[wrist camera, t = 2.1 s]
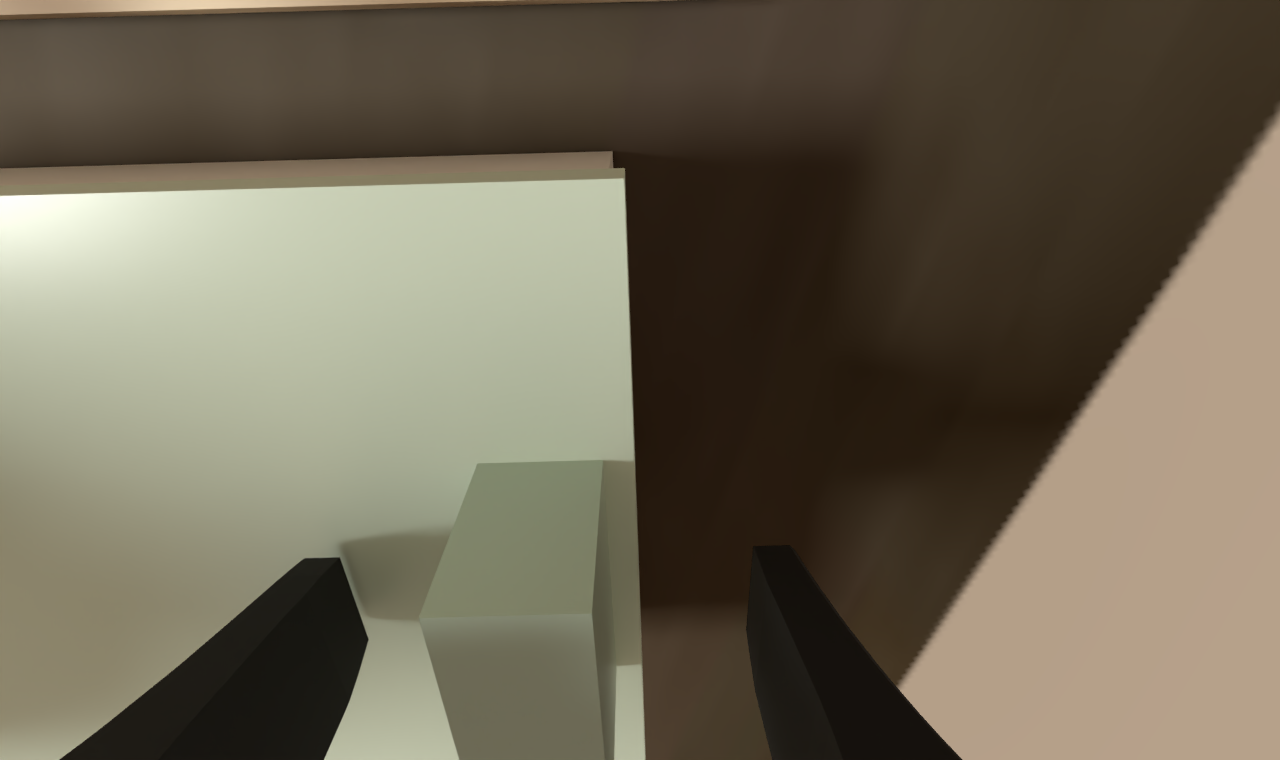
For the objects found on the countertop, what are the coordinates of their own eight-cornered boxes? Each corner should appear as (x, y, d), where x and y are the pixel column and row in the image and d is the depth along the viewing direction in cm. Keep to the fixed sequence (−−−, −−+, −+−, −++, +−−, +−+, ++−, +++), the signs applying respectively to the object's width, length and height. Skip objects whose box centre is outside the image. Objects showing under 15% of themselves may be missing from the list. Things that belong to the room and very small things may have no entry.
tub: (100, 625, 18) (-29, 762, 15) (-194, 174, 12) (-540, 222, 8) (632, 610, 18) (632, 744, 15) (612, 151, 12) (604, 191, 8)
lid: (4, 729, 16) (-230, 979, 11) (-466, 187, 9) (-1406, 300, 5) (644, 712, 16) (649, 956, 11) (626, 157, 9) (619, 245, 5)
